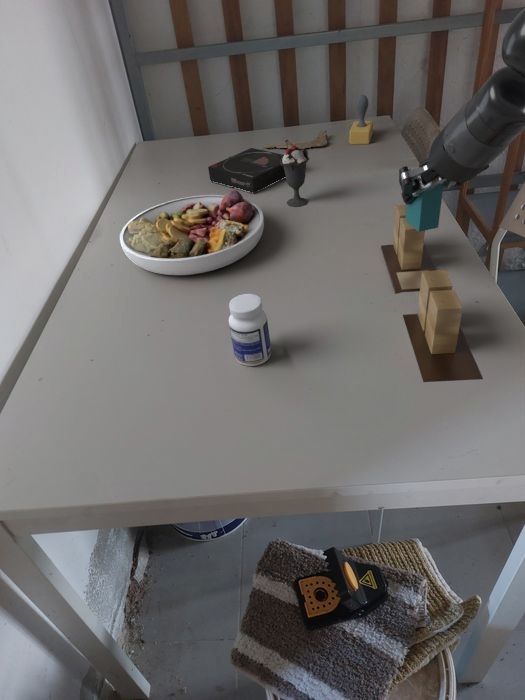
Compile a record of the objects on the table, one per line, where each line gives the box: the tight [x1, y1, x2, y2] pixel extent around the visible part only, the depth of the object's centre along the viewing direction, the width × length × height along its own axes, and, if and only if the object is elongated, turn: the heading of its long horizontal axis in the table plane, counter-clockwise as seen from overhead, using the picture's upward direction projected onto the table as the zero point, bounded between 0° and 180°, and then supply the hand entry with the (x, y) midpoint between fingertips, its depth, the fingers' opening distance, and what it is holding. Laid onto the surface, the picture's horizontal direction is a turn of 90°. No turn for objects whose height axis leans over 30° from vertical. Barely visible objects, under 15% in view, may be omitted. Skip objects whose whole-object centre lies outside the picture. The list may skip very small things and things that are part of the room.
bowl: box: [119, 189, 265, 276], centre depth 108 cm, size 30×30×8 cm
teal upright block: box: [405, 181, 444, 232], centre depth 81 cm, size 3×5×8 cm
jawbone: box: [262, 129, 329, 150], centre depth 153 cm, size 9×20×2 cm, turn 105°
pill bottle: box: [228, 293, 272, 367], centre depth 77 cm, size 6×6×10 cm
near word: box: [402, 269, 484, 383], centre depth 75 cm, size 8×16×9 cm, turn 178°
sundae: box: [280, 139, 310, 208], centre depth 118 cm, size 7×7×15 cm
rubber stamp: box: [349, 94, 374, 145], centre depth 150 cm, size 10×6×12 cm, turn 165°
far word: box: [380, 203, 435, 295], centre depth 92 cm, size 8×17×9 cm, turn 178°
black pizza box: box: [207, 147, 286, 194], centre depth 137 cm, size 16×17×4 cm
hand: (417, 196), depth 83 cm, fingers closed on teal upright block, 3 cm apart
